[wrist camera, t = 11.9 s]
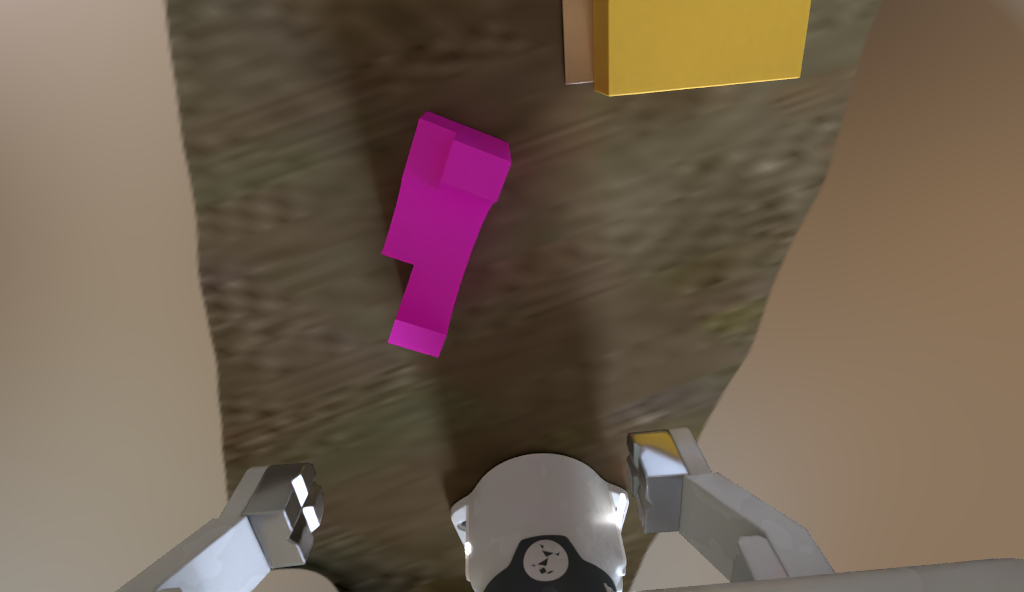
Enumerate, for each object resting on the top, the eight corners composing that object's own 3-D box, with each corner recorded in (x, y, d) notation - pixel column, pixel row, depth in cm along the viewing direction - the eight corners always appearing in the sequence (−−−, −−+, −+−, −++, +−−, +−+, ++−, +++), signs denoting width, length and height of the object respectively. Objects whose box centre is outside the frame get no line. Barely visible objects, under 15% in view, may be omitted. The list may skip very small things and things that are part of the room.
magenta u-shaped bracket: (427, 110, 37) (412, 124, 30) (508, 142, 38) (511, 162, 31) (375, 287, 43) (353, 332, 36) (446, 310, 44) (438, 357, 37)
